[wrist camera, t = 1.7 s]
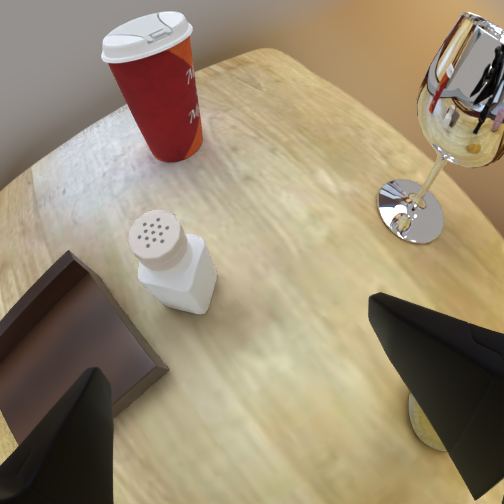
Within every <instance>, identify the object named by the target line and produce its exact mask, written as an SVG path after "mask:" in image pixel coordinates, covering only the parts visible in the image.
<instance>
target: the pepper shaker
mask: <svg viewBox="0 0 504 504" xmlns="http://www.w3.org/2000/svg"><path fill="white" fill-rule="evenodd" d="M128 244H129V246H130V248H131V250H132V252H133V254H134V255H135V256H136V257H137V258H138V260H139V261H140V265H139V269H138V280H139V281H140V282H141V283H142V284H143V285H144V286H145V287H146V288H147V289H148V290H149V291H150V292H151V293H152V294H153V295H154V296H155V297H156V298H157V299H158V300H159V301H160V302H161V303H162V304H164V305H165V306H166V307H170V308H174V309H178V310H182V311H186V312H190V313H195V314H199V315H200V314H205V313H206V311H207V310H208V309H209V305H210V301H211V298H212V294H213V290H214V287H215V283H216V279H217V271H216V268H215V266H214V263H213V261H212V258H211V255H210V253H209V250H208V248H207V245H206V242H205V241H204V240H203V239H202V238H200V237H199V236H196V235H192V234H188V233H184V231H183V228H182V226H181V224H180V223H179V221H178V219H177V218H176V216H175V214H173V213H171V212H168V211H166V210H164V209H160V210H150V211H148V212H146V213H145V214H143V215H141V216H140V217H138V218H137V219H136V221H135V222H134V224H133V225H132V226H131V228H130V231H129V237H128Z"/></svg>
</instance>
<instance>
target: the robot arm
mask: <svg viewBox="0 0 504 504" xmlns="http://www.w3.org/2000/svg"><path fill="white" fill-rule="evenodd" d="M368 317H369V321H370V324H371V325H372V327H373V329H374V331H375V333H376V335H377V337H378V339H379V341H380V343H381V345H382V347H383V349H384V351H385V353H386V354H387V356H388V358H389V360H390V361H391V363H392V364H393V366H394V367H395V369H396V370H397V372H398V373H399V375H400V376H401V378H402V380H403V381H404V383H405V384H406V386H407V387H408V389H409V390H410V392H411V393H412V395H413V397H414V398H415V400H416V401H417V403H418V404H419V406H420V408H421V409H422V411H423V412H424V414H425V416H426V417H427V419H428V420H429V422H430V424H431V425H432V427H433V429H434V430H435V432H436V434H437V435H438V437H439V438H440V440H441V442H442V443H443V445H444V447H445V449H446V450H447V452H448V453H449V456H450V457H451V459H452V461H453V462H454V464H455V466H456V468H457V469H458V471H459V473H460V475H461V476H462V478H463V480H464V482H465V484H466V485H467V487H468V489H469V491H470V493H471V494H472V496H473V498H474V499H475V500H477V499H479V498H480V497H481V496H483V495H484V494H485V493H487V492H488V491H489V490H490V489H492V488H493V487H494V486H495V485H497V484H498V483H499V482H500V481H501V480H503V479H504V334H503V333H499V332H495V331H492V330H489V329H486V328H483V327H479V326H477V325H474V324H471V323H469V324H468V322H465V321H462V320H459V319H457V318H454V317H451V316H448V315H445V314H442V313H439V312H437V311H434V310H431V309H428V308H425V307H422V306H419V305H416V304H414V303H411V302H408V301H405V300H402V299H399V298H396V297H393V296H391V295H388V294H385V293H382V292H379V293H376V294H373V295H371V296H370V297H369V307H368ZM113 434H114V424H113V405H112V387H111V384H110V382H109V381H108V379H107V378H106V376H105V375H104V373H103V372H102V370H101V369H100V368H99V367H90V368H87V369H86V370H85V371H84V372H83V373H82V374H81V375H80V376H79V378H78V379H77V380H76V381H75V382H74V383H73V384H72V385H71V386H70V388H69V389H68V390H67V391H66V392H65V393H64V394H63V395H62V397H61V398H60V399H59V400H58V401H57V402H56V403H55V404H54V406H53V407H52V408H51V409H50V410H49V411H48V412H47V414H46V415H45V416H44V417H43V418H42V419H41V421H40V422H39V423H38V424H37V425H36V426H35V428H34V429H33V430H32V431H31V432H30V435H28V436H27V437H26V438H25V439H24V441H23V442H22V443H21V444H20V445H19V446H18V447H17V449H16V450H15V451H14V452H13V453H12V454H11V455H10V456H9V457H8V458H7V459H6V460H5V461H4V462H3V463H2V464H1V465H0V504H114V503H113ZM502 504H504V496H503V500H502Z"/></svg>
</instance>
